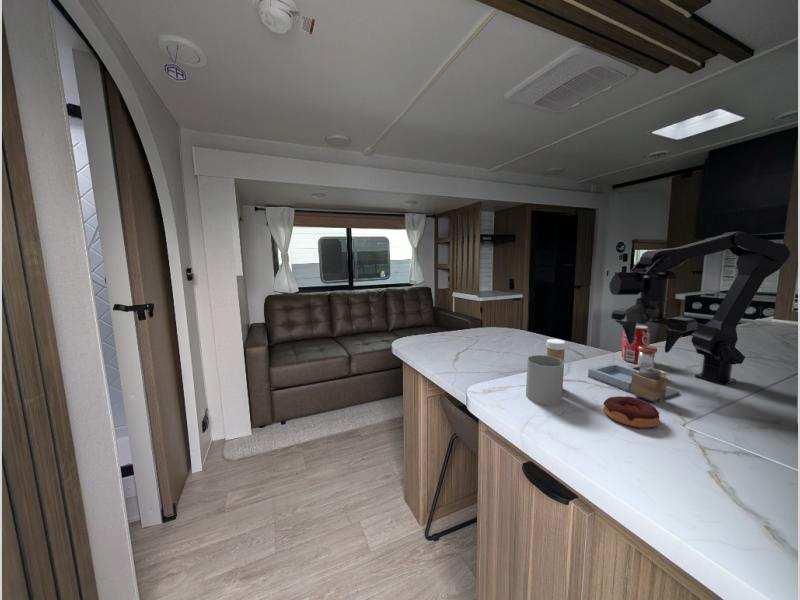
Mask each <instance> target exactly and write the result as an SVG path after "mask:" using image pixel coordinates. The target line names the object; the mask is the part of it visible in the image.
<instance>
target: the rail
mask: <svg viewBox="0 0 800 600" xmlns="http://www.w3.org/2000/svg"><path fill="white" fill-rule="evenodd" d="M680 394H681V392H680V391H679V390H676V389H672V388H669V387H667V386H666V394H665V397H664V398H661V399H658V400H655V401H651V400H649V399H646V398H644V397H641V396H638V395H636V394H635V397H638V398H639V399H643V400H644V401H645V400H646V401H648V402H651V403H658V402H660V401H663V400H666V399H669V398H672V397H674V396H678V395H680Z"/></svg>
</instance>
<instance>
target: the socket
mask: <svg viewBox="0 0 800 600" xmlns="http://www.w3.org/2000/svg"><path fill="white" fill-rule="evenodd" d="M637 366H638V364H635V365H630V366H627V367H628V368H631V369H634V370H637ZM653 369H656V370H658V371H660V372H661V374H660V376H663V377H666V378H667V372H666V371H663V370H661V369H657V368H655V367H653ZM637 371H638V370H637Z"/></svg>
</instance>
